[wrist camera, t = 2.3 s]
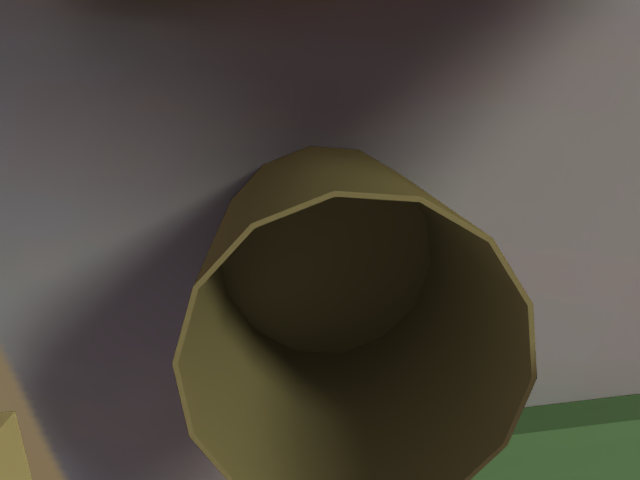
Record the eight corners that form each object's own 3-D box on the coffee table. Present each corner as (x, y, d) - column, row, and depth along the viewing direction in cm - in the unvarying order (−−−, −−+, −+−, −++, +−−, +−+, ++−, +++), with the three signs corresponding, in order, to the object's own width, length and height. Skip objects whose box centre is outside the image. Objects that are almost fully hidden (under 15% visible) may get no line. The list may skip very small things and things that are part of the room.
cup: (181, 289, 23) (109, 436, 13) (283, 105, 21) (286, 117, 12) (362, 380, 24) (416, 570, 15) (469, 214, 23) (608, 305, 13)
